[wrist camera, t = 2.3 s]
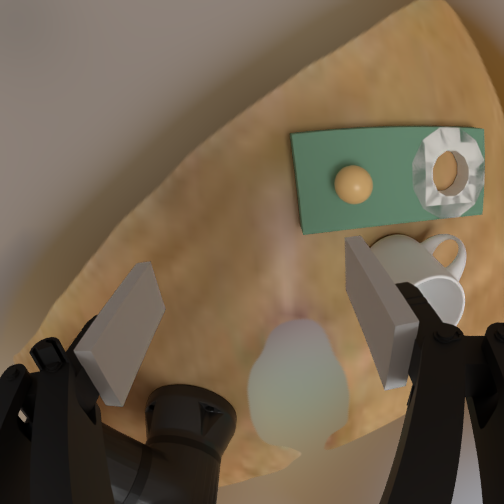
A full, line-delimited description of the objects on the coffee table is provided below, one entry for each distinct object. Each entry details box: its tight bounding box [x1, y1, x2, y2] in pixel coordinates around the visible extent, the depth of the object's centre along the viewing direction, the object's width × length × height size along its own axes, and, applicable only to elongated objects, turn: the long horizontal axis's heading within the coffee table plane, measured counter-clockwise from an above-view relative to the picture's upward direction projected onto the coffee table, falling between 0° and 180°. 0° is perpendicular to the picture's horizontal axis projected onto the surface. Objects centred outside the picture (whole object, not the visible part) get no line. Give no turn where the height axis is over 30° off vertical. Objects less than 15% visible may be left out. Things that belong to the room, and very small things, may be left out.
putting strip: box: [290, 126, 485, 235], centre depth 30 cm, size 22×10×2 cm, turn 99°
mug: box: [370, 234, 466, 326], centre depth 30 cm, size 9×12×11 cm
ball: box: [334, 165, 373, 204], centre depth 28 cm, size 4×4×4 cm
